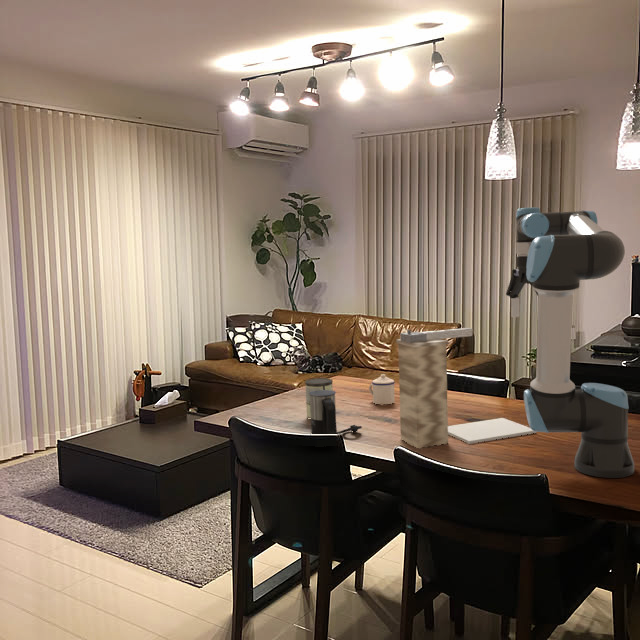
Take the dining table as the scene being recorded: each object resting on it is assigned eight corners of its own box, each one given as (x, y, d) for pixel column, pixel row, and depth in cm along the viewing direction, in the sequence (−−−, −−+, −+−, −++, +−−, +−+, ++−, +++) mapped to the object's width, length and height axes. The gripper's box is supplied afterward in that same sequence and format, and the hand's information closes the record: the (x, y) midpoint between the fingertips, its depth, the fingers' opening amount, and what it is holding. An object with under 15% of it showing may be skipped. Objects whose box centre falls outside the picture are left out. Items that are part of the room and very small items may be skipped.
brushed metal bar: (409, 342, 207) (409, 331, 207) (400, 340, 213) (400, 329, 212) (475, 336, 216) (475, 325, 215) (465, 334, 221) (465, 323, 221)
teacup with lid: (399, 402, 270) (399, 374, 269) (385, 406, 264) (384, 377, 263) (377, 398, 279) (376, 370, 277) (362, 402, 272) (361, 374, 271)
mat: (469, 444, 211) (468, 441, 211) (438, 430, 228) (438, 427, 228) (536, 433, 221) (536, 430, 220) (502, 420, 237) (502, 417, 237)
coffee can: (309, 414, 257) (307, 377, 256) (335, 414, 255) (334, 377, 254) (304, 421, 247) (302, 383, 246) (331, 421, 245) (330, 383, 244)
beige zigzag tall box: (416, 449, 208) (414, 344, 204) (398, 439, 219) (396, 339, 215) (450, 443, 212) (448, 340, 209) (430, 434, 223) (428, 336, 220)
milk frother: (305, 435, 229) (303, 392, 227) (341, 426, 238) (340, 385, 236) (330, 443, 217) (328, 399, 216) (367, 434, 227) (366, 391, 225)
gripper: (564, 255, 210) (563, 322, 213) (513, 254, 233) (513, 314, 236) (545, 256, 208) (544, 324, 210) (495, 255, 231) (496, 316, 233)
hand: (528, 319), depth 223 cm, fingers open, 13 cm apart
